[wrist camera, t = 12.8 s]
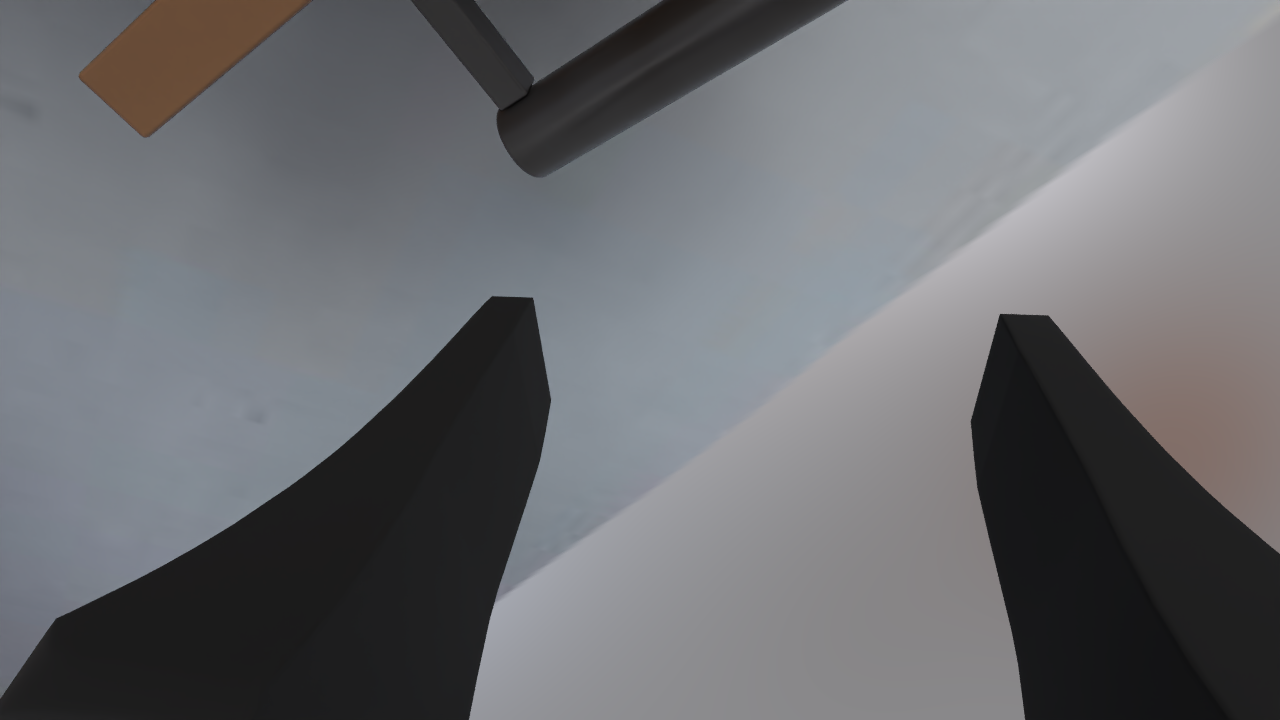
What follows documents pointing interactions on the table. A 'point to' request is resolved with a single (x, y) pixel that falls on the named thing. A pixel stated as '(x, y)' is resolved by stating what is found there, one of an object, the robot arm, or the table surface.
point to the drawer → (528, 114)
